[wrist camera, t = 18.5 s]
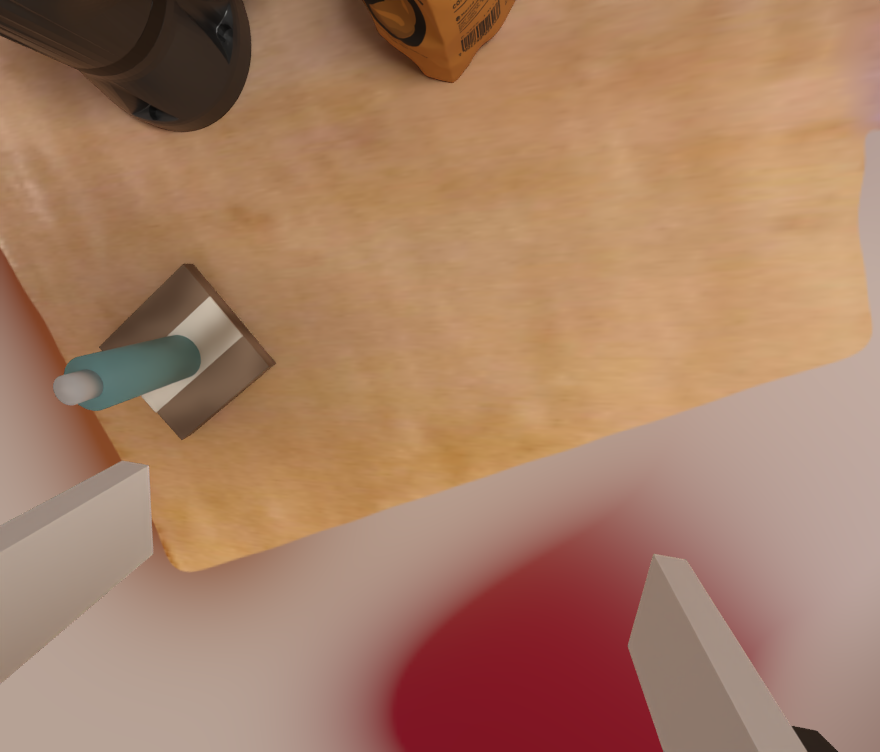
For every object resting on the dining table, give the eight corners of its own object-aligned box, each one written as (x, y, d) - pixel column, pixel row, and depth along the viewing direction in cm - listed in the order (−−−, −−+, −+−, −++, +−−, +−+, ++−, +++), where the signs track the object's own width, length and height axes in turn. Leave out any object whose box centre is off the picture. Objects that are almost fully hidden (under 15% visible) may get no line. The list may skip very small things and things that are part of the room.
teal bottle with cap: (151, 352, 48) (29, 384, 35) (179, 326, 47) (63, 349, 34) (181, 386, 49) (71, 429, 36) (209, 360, 47) (106, 396, 35)
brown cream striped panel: (110, 344, 50) (97, 347, 49) (192, 263, 47) (182, 264, 45) (190, 435, 52) (180, 440, 50) (275, 363, 48) (268, 366, 47)
